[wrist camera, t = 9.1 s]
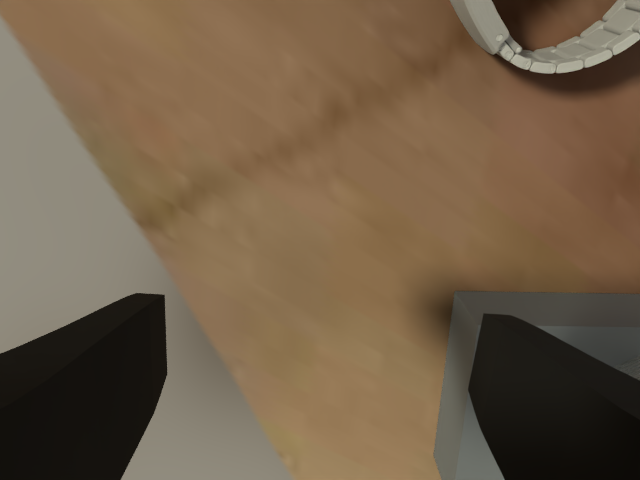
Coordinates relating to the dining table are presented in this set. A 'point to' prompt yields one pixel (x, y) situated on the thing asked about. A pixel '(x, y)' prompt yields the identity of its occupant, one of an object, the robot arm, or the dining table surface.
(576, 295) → the watch box
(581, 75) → the dining table surface
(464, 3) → the watch
